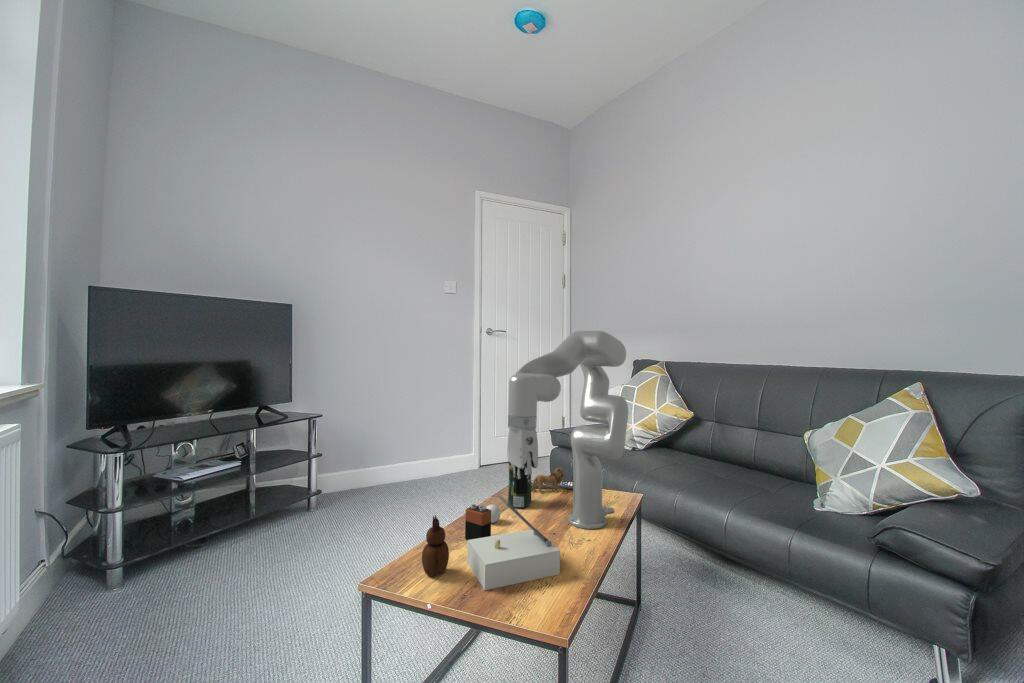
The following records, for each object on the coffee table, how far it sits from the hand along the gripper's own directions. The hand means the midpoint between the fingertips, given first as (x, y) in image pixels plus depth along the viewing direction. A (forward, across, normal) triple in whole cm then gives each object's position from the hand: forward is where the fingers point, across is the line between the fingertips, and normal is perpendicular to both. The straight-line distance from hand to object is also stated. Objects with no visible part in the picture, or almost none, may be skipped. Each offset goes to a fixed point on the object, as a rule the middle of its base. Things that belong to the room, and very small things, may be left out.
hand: (520, 492), depth 113 cm
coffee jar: (+19, +42, -19) cm, 50 cm away
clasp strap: (+8, 0, -1) cm, 8 cm away
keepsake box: (+19, 0, +2) cm, 19 cm away
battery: (+19, +20, +4) cm, 28 cm away
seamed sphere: (+19, +30, -4) cm, 35 cm away
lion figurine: (+18, +52, -36) cm, 65 cm away
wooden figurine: (+20, +6, +20) cm, 29 cm away
